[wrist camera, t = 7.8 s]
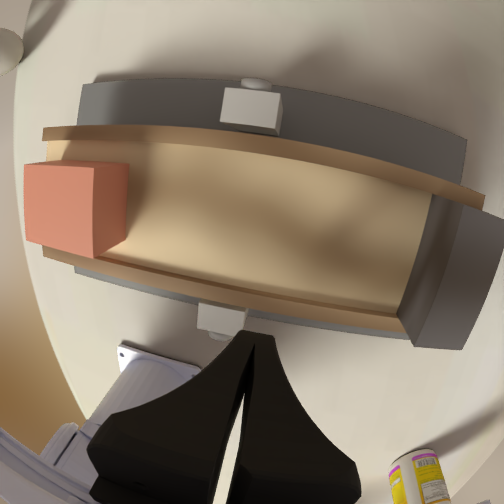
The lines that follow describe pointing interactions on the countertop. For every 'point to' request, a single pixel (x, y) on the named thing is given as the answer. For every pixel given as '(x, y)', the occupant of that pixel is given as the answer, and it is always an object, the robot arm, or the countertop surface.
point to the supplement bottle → (418, 479)
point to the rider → (76, 205)
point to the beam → (293, 229)
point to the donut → (9, 50)
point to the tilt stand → (273, 125)
